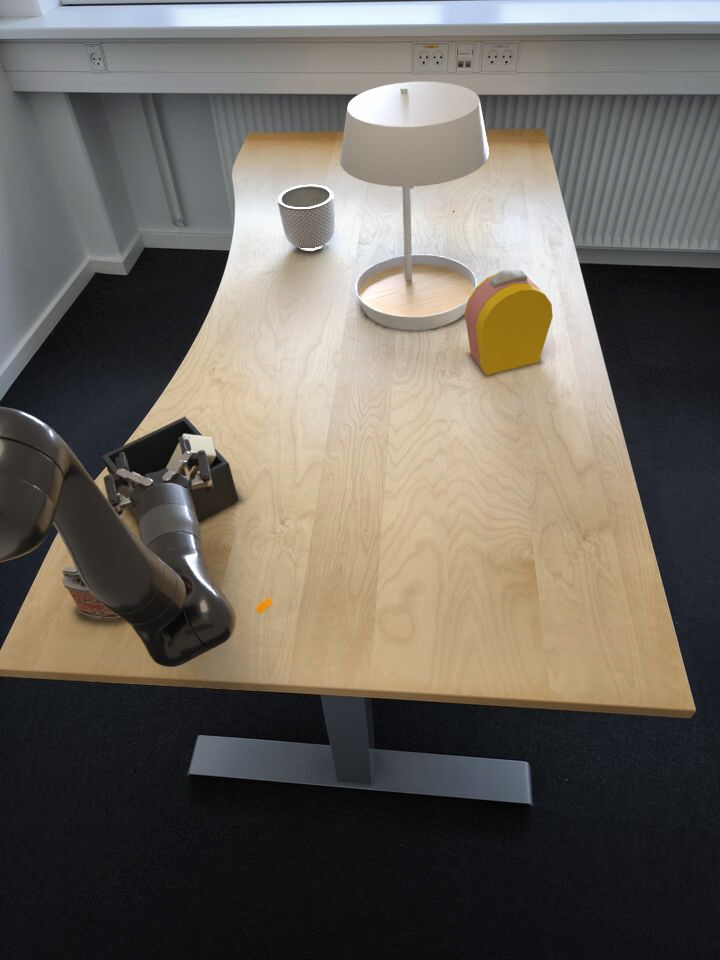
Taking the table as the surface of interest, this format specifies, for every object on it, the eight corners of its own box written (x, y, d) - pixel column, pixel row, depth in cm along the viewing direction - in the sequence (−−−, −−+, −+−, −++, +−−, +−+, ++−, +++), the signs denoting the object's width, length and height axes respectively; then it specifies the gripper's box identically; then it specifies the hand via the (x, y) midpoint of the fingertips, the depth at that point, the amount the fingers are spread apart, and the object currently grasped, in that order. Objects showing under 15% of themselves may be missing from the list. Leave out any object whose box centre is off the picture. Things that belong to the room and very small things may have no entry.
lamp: (369, 347, 154) (355, 136, 124) (340, 280, 175) (321, 85, 145) (500, 321, 158) (516, 110, 128) (456, 259, 178) (461, 64, 148)
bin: (156, 546, 119) (140, 508, 112) (117, 493, 128) (101, 455, 122) (238, 500, 125) (228, 462, 118) (196, 453, 134) (185, 416, 128)
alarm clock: (527, 338, 153) (536, 257, 140) (546, 360, 147) (557, 277, 134) (461, 355, 150) (464, 274, 137) (478, 377, 144) (483, 295, 132)
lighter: (134, 604, 111) (114, 562, 104) (125, 623, 108) (104, 581, 101) (85, 598, 112) (62, 557, 105) (75, 617, 110) (51, 576, 103)
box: (164, 495, 122) (185, 452, 115) (161, 475, 124) (181, 432, 117) (194, 497, 125) (217, 455, 118) (190, 478, 127) (212, 435, 120)
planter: (273, 249, 188) (265, 200, 179) (310, 228, 195) (304, 180, 186) (312, 264, 181) (306, 214, 172) (349, 241, 188) (345, 192, 179)
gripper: (216, 491, 94) (195, 416, 105) (104, 522, 91) (94, 442, 102) (227, 530, 99) (206, 454, 110) (122, 560, 96) (111, 480, 108)
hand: (152, 449), depth 106 cm, fingers open, 8 cm apart
